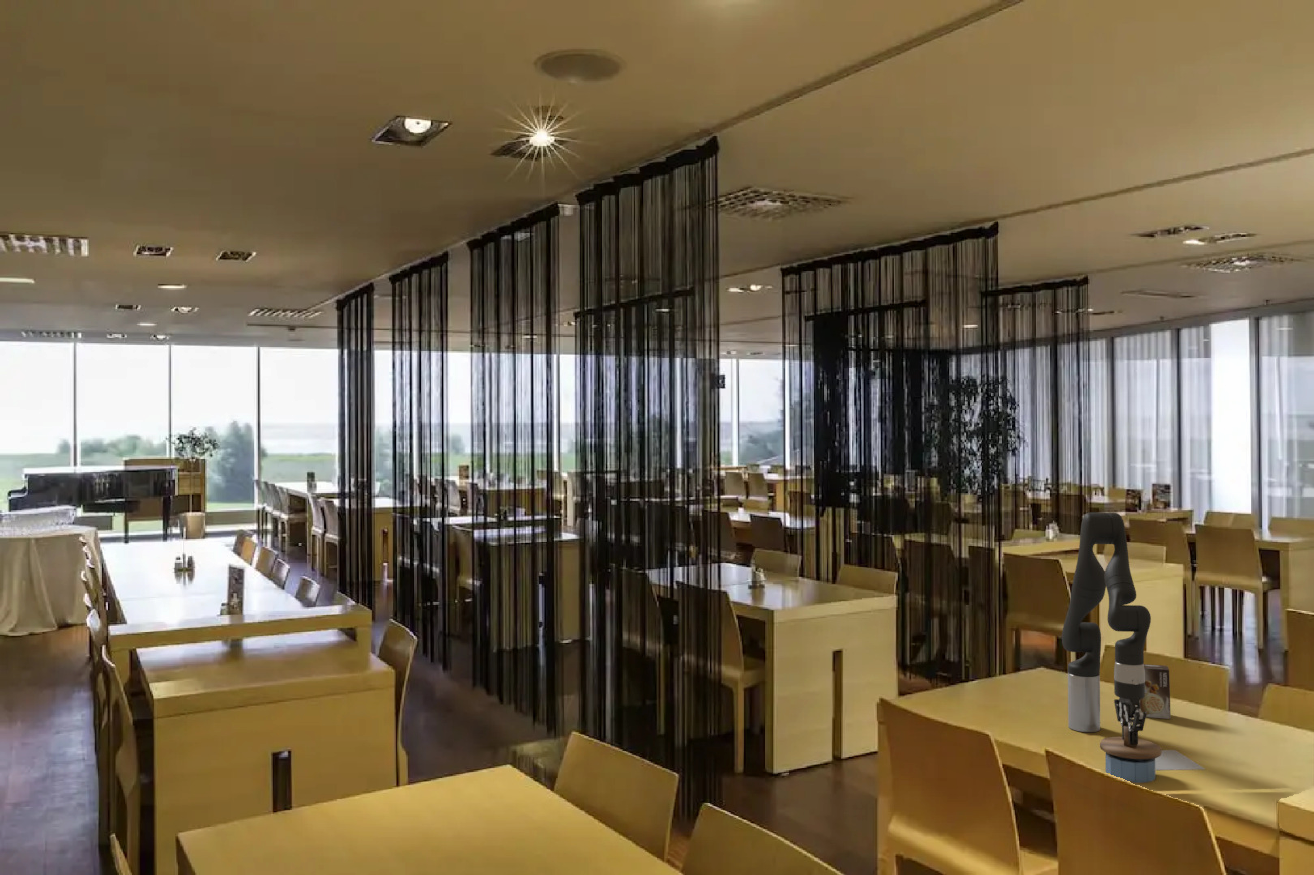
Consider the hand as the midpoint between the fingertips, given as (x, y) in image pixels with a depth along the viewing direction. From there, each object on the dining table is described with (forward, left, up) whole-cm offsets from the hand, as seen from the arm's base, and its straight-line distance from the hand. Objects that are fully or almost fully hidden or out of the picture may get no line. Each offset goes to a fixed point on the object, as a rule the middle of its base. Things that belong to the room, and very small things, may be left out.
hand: (1130, 742), depth 269 cm
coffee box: (-55, +34, -10) cm, 65 cm away
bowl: (0, 0, -10) cm, 10 cm away
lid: (0, 0, -2) cm, 2 cm away
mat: (-11, +14, -10) cm, 20 cm away
